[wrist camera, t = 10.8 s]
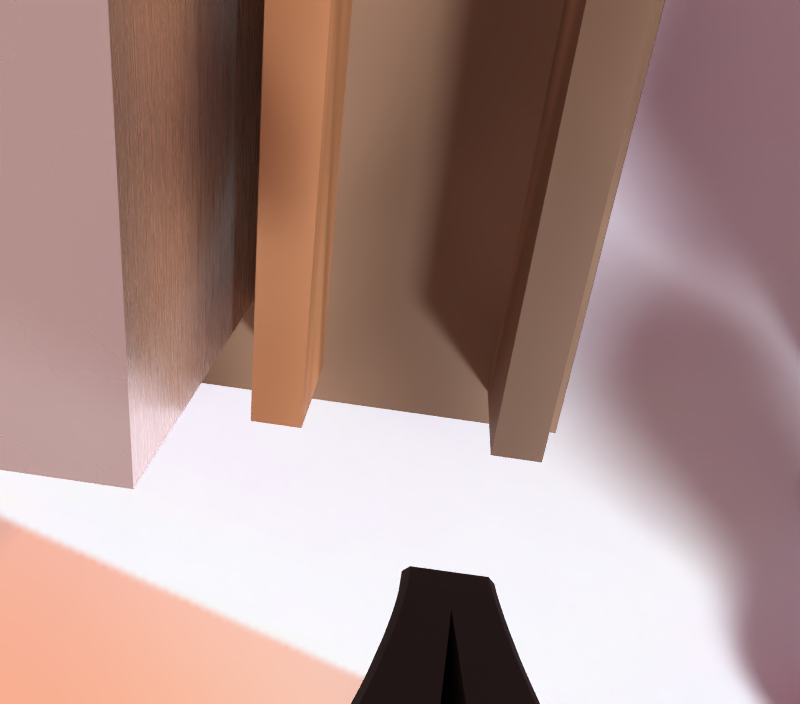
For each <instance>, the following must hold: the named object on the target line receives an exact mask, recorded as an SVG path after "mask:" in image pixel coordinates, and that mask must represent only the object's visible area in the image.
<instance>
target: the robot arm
mask: <svg viewBox="0 0 800 704" xmlns="http://www.w3.org/2000/svg"><path fill="white" fill-rule="evenodd" d="M351 704H540V703H539V701H538V699H537V696H536V694H535V692H534V690H533V687H532V685H531V683H530V681H529V678H528V676H527V674H526V672H525V669H524V667H523V665H522V662H521V660H520V657H519V655H518V653H517V650H516V647H515V645H514V642H513V640H512V637H511V634H510V632H509V629H508V626H507V624H506V621H505V618H504V615H503V612H502V609H501V606H500V603H499V600H498V596H497V593H496V589H495V585H494V583H493V582H492V581H491V580H490V578H489V577H483V576H476V575H469V574H462V573H454V572H447V571H440V570H433V569H426V568H418V567H411V566H410V567H408V568H406V569H405V570H403V571H402V574H401V580H400V586H399V592H398V596H397V599H396V603H395V606H394V609H393V612H392V615H391V618H390V620H389V623H388V626H387V628H386V631H385V634H384V636H383V638H382V641H381V643H380V645H379V647H378V650H377V652H376V654H375V656H374V659H373V661H372V663H371V665H370V668H369V670H368V672H367V674H366V676H365V678H364V680H363V682H362V684H361V686H360V688H359V690H358V692H357V694H356V695H355V697H354V699H353V701H352V703H351Z"/></svg>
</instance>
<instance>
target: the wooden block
mask: <svg viewBox="0 0 800 704" xmlns="http://www.w3.org/2000/svg"><path fill="white" fill-rule="evenodd" d="M262 10H263V0H0V470H6V471H13V472H20V473H27V474H34V475H41V476H47V477H54V478H61V479H68V480H75V481H82V482H89V483H96V484H102V485H109V486H116V487H123V488H130V489H134V487H135V486H136V484H137V483H138V481H139V480H140V478H141V476H142V475H143V473H144V472H145V470H146V469H147V467H148V465H149V464H150V462H151V461H152V459H153V458H154V456H155V454H156V453H157V451H158V450H159V448H160V447H161V445H162V443H163V442H164V440H165V439H166V437H167V436H168V434H169V432H170V431H171V429H172V428H173V426H174V425H175V423H176V421H177V420H178V418H179V417H180V415H181V414H182V412H183V410H184V409H185V407H186V406H187V404H188V402H189V401H190V399H191V398H192V396H193V395H194V393H195V391H196V390H197V388H198V387H199V385H200V384H201V382H202V380H203V379H204V377H205V376H206V374H207V373H208V371H209V369H210V368H211V366H212V365H213V363H214V362H215V360H216V358H217V357H218V355H219V354H220V352H221V351H222V349H223V347H224V346H225V344H226V343H227V341H228V340H229V338H230V336H231V335H232V333H233V332H234V330H235V329H236V327H237V325H238V324H239V322H240V321H241V319H242V318H243V316H244V314H245V313H246V311H247V310H248V308H249V307H250V305H251V303H252V302H253V283H254V253H255V222H256V192H257V162H258V131H259V101H260V71H261V41H262Z"/></svg>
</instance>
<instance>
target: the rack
mask: <svg viewBox="0 0 800 704" xmlns="http://www.w3.org/2000/svg"><path fill="white" fill-rule="evenodd" d="M664 2H665V0H263V10H262V41H261V71H260V101H259V131H258V162H257V192H256V222H255V253H254V283H253V302H252V303H251V305H250V307H249V308H248V310H247V311H246V313H245V314H244V316H243V318H242V319H241V321H240V322H239V324H238V325H237V327H236V329H235V330H234V332H233V333H232V335H231V336H230V338H229V340H228V341H227V343H226V344H225V346H224V347H223V349H222V351H221V352H220V354H219V355H218V357H217V358H216V360H215V362H214V363H213V365H212V366H211V368H210V369H209V371H208V373H207V374H206V376H205V377H204V379H203V380H202V382H201V383H207V384H214V385H221V386H228V387H235V388H242V389H249V390H252V403H251V421H256V422H263V423H270V424H277V425H284V426H291V427H298V428H301V427H302V424H303V422H304V419H305V416H306V413H307V410H308V408H309V405H310V402H311V399H312V398H313V399H320V400H327V401H334V402H341V403H348V404H355V405H362V406H369V407H376V408H383V409H390V410H397V411H404V412H411V413H418V414H425V415H432V416H439V417H446V418H453V419H461V420H468V421H475V422H482V423H489V428H490V447H491V455H494V456H501V457H508V458H515V459H522V460H529V461H536V462H542V459H543V455H544V451H545V447H546V443H547V439H548V435H549V432H552V433H555V432H556V428H557V424H558V420H559V416H560V412H561V409H562V405H563V401H564V397H565V393H566V389H567V385H568V381H569V377H570V373H571V369H572V365H573V361H574V357H575V353H576V349H577V345H578V341H579V338H580V334H581V330H582V326H583V322H584V318H585V314H586V310H587V306H588V302H589V298H590V294H591V290H592V286H593V282H594V278H595V274H596V270H597V267H598V263H599V259H600V255H601V251H602V247H603V243H604V239H605V235H606V231H607V227H608V223H609V219H610V215H611V211H612V207H613V203H614V199H615V196H616V192H617V188H618V184H619V180H620V176H621V172H622V168H623V164H624V160H625V156H626V152H627V148H628V144H629V140H630V136H631V132H632V128H633V125H634V121H635V117H636V113H637V109H638V105H639V101H640V97H641V93H642V89H643V85H644V81H645V77H646V73H647V69H648V65H649V61H650V57H651V53H652V50H653V46H654V42H655V38H656V34H657V30H658V26H659V22H660V18H661V14H662V10H663V6H664Z"/></svg>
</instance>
